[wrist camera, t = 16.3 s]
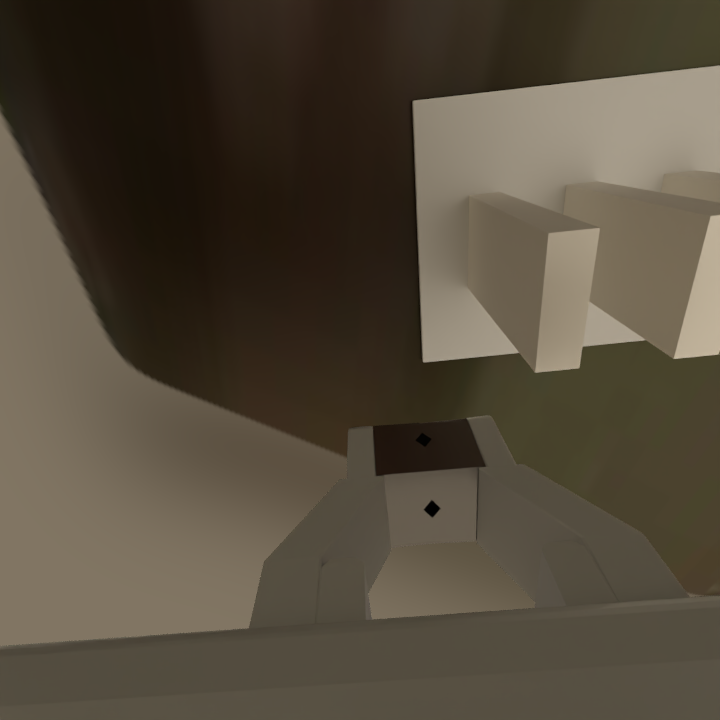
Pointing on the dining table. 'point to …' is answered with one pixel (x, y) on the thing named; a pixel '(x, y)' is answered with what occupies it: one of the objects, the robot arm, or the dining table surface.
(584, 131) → the mat
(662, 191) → the domino
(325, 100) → the dining table surface
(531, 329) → the domino
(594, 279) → the domino
